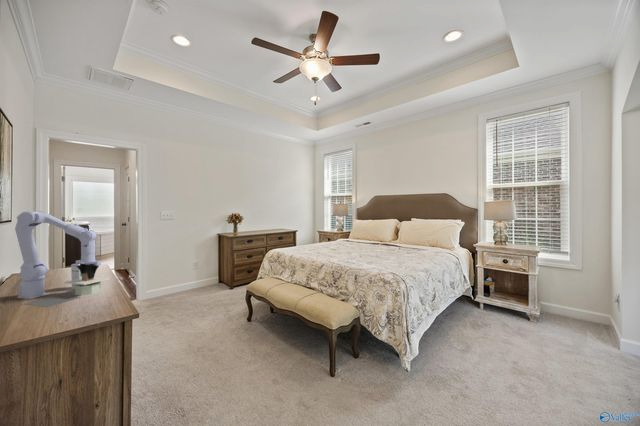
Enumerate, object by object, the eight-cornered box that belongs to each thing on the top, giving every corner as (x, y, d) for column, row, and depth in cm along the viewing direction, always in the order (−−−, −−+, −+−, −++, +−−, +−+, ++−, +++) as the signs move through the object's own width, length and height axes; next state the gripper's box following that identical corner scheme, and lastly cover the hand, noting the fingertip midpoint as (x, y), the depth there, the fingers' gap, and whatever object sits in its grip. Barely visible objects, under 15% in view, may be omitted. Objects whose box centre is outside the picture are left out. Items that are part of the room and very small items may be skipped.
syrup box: (79, 290, 145) (79, 264, 145) (71, 289, 146) (71, 263, 146) (90, 287, 151) (90, 262, 150) (82, 286, 152) (82, 261, 152)
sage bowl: (70, 294, 137) (70, 285, 137) (90, 289, 147) (90, 280, 147) (85, 296, 135) (85, 286, 135) (104, 290, 145) (104, 281, 145)
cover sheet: (64, 283, 136) (64, 275, 136) (90, 277, 148) (91, 270, 149) (84, 284, 133) (84, 276, 133) (109, 279, 146) (109, 271, 146)
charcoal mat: (21, 304, 123) (21, 304, 123) (57, 295, 137) (57, 294, 137) (48, 308, 120) (48, 307, 120) (81, 297, 133) (81, 297, 133)
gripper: (69, 253, 138) (69, 278, 139) (91, 254, 135) (91, 280, 136) (83, 251, 145) (83, 275, 145) (104, 252, 142) (104, 277, 143)
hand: (88, 277), depth 141 cm, fingers closed on cover sheet, 3 cm apart
